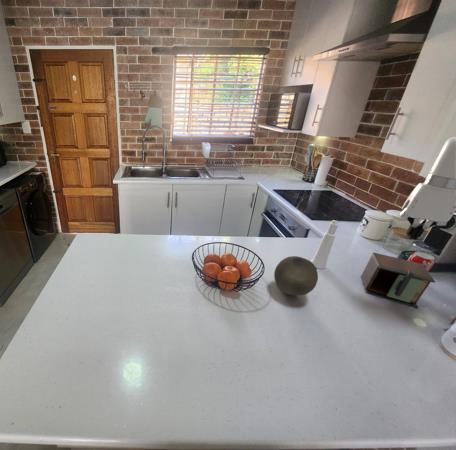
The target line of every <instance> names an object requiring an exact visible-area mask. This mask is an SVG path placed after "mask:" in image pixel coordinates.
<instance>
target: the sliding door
mask: <svg viewBox="0 0 456 450" xmlns="http://www.w3.org/2000/svg"><path fill="white" fill-rule="evenodd" d="M413 275H414V274H413V272H410V271H408V272H407V274H406V275H401V274H399V276H398V277H397V279H396V281H395V282H394V284H393V286H392V287H391V289H390V291H389V292H388V294H387V296H388V297H392V298H395V299H398V300H402V301H405V302H409V303H410V301H411V300H412V298H413V297H414V295H415V294H416V292H417V291H418V289H419V288H420V286H421V285H422V283H423V282H424V281H423V280H420V279H416V278H412V276H413Z"/></svg>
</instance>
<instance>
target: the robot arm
mask: <svg viewBox="0 0 456 450" xmlns="http://www.w3.org/2000/svg"><path fill="white" fill-rule="evenodd" d="M455 212H456V136H451V137H449V138H448V139H446V141H445V143H444V144H443V146H442V148H441V150H440V152H439V154H438V155H437V156H436V159H435V161H434V163H433V165H432V166H431V168H430V170H429V171H428V174H427V175H426V178H425V179H424V181H423V182H419V183H418V184H417V185H416V186H415V187H414V188H413V190H412V191H411V192H410V194H409V195H408V197H407V198H406V200H405V202H404V203H403V205H402V207H401V212H400V213H399V214H398V217H400V218H401V219H404V220H406V221H408V223H409V224H410V225H409V226H408V229H407V230H406V233H405V234H406V236H407V238H408V239H409V240H414V241H417V240H418V238H421V236H422V235H423V233H424V232H425V230H428V229H429V228H431V227H434V226H441V227H442V226H447V224H448V222H449V221H450V220H451V219H452V217H453V215H454V214H455ZM420 221H421V222H420Z"/></svg>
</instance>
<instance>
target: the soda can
mask: <svg viewBox="0 0 456 450" xmlns="http://www.w3.org/2000/svg"><path fill="white" fill-rule="evenodd" d="M435 259H436V258H435V257H434V255H432V254H430V253H427V252H424V251H414V253H412V254H410V256H409V257H408V259H406V260H407V261H412V262H416V263H420V264H423V265H424V267H425V268H426V270H427V271H428V272H429V273H430V271H431V270H432V268H433V267H434V265H435Z"/></svg>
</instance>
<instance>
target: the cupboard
mask: <svg viewBox="0 0 456 450" xmlns="http://www.w3.org/2000/svg"><path fill="white" fill-rule="evenodd" d="M407 260H408V259H403V258H399V257H394V256H392V255H391V256H390V255H386V254H383V253H378V252H373V253H372V254H371V256H370V257H369V260H368V262H367V263H366V266H365V268H364V270H363V271H362V273H361V275H360V277H361V280H362V285H363V287H364V291H365V293H366V294H368V295H371V296H373V297H377V298H381V299H385V300H388V301H391V302H395V303H398V304H402V305H404V306H408V307H411V308H414V309H419V306H418V302H419V300H420V299H421V297H422V295H423V294H424V293H425V291H426V290H427V288H428V287H429V286H430V284H431V283H436V281H435V279H434V278H433V276H432V275H431V274H430V271H429V272H428V271H427V270H426V268H425V267H424V265H423V264H420V263H416V262H412V261H407ZM408 271H410V272H413V274H414V275H413V276H412V278H416V279H420V280H423V281H424V282H423V283H422V285H421V286H420V288H419V289H418V291H417V292H416V294H415V295H414V297H413V298H412V300H411V301H410V303H409V302H405V301H402V300H398V299H395V298H392V297H388V296H387V294H388V292H389V291H390V289H391V287H392V286H393V284H394V282H395V281H396V279H397V277H398V276H399V274H401V275H406V274H407V272H408Z"/></svg>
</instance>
